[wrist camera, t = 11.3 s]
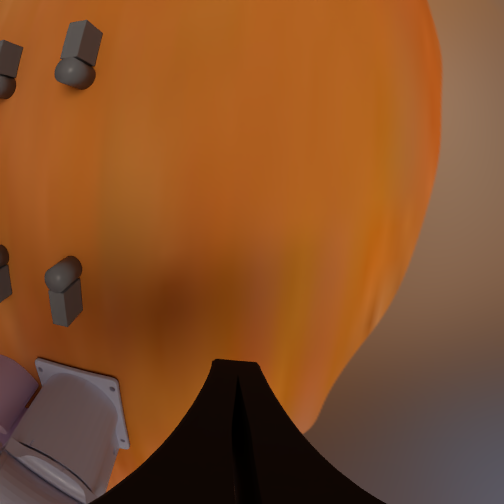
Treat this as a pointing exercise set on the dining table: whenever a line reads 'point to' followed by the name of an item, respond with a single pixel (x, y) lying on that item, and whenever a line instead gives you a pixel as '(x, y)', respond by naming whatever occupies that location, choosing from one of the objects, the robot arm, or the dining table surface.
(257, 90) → the dining table surface
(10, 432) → the clip
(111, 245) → the dining table surface
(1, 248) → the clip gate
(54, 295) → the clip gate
